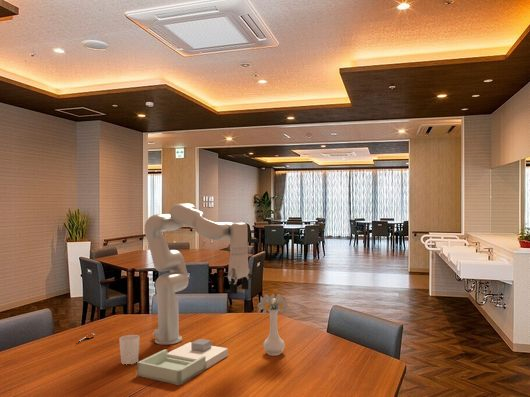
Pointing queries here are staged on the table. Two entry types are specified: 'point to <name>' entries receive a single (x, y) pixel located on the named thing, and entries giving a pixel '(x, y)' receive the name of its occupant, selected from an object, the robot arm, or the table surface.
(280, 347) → the flower vase
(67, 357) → the table surface
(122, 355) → the white cup
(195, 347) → the grey square block
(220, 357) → the plate
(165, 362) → the box
